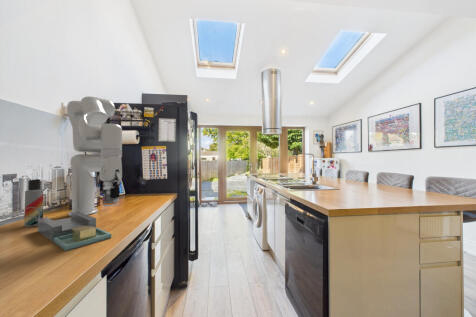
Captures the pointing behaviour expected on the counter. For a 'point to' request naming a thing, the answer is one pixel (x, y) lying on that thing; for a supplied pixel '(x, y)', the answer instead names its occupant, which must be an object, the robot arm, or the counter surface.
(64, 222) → the slot block
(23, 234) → the counter surface
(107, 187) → the pill bottle
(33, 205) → the lotion bottle
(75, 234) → the chip
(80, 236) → the chip
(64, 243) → the tray
